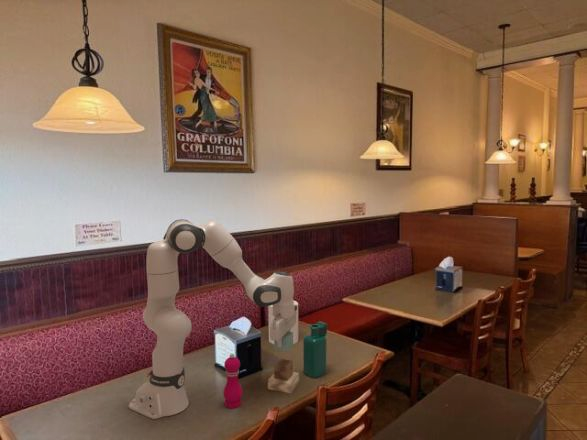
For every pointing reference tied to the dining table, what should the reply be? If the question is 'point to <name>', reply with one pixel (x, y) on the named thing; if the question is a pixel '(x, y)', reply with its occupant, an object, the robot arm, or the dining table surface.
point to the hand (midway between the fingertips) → (283, 342)
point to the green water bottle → (315, 350)
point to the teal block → (285, 342)
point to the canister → (293, 329)
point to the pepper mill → (232, 383)
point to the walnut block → (283, 369)
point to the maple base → (283, 383)
